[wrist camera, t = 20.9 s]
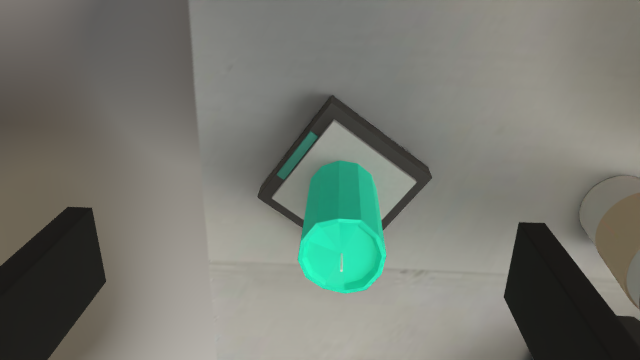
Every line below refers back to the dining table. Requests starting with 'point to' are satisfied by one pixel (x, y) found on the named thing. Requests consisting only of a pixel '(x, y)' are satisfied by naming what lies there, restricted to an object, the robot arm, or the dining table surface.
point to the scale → (351, 146)
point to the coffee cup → (616, 229)
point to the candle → (342, 229)
